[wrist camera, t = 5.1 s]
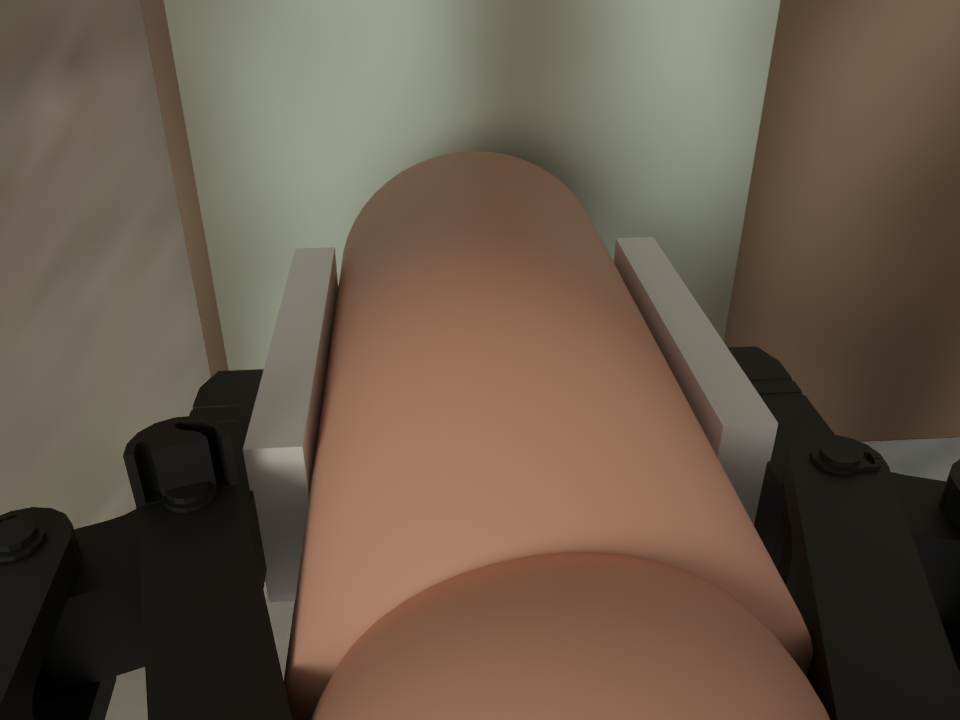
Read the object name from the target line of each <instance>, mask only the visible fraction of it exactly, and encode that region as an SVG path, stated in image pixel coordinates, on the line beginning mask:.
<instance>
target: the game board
mask: <svg viewBox="0 0 960 720" xmlns="http://www.w3.org/2000/svg"><path fill="white" fill-rule="evenodd" d="M140 2H141V7H142V13H143V18H144V23H145V29H146V34H147V39H148V44H149V50H150V55H151V60H152V66H153V71H154V76H155V82H156V87H157V92H158V97H159V103H160V108H161V113H162V119H163V124H164V129H165V135H166V140H167V145H168V150H169V156H170V161H171V166H172V172H173V177H174V182H175V188H176V193H177V198H178V203H179V209H180V214H181V219H182V225H183V230H184V235H185V241H186V246H187V251H188V256H189V262H190V267H191V272H192V278H193V283H194V288H195V294H196V299H197V304H198V309H199V315H200V320H201V325H202V331H203V336H204V341H205V347H206V352H207V357H208V362H209V368H210V373H211V377H212V376H214V375H215V374H216V373H217V372H218V371H231V370H254V369H264V366H265V362H266V359H267V355H268V351H269V347H270V343H271V340H272V336H273V332H274V328H275V324H276V320H277V317H278V313H279V309H280V305H281V301H282V297H283V294H284V290H285V286H286V282H287V278H288V275H289V271H290V267H291V263H292V259H293V255H294V252H295V249H297V248H328V247H335V257H336V267H337V278H338V286H339V279H340V272H341V264H342V257H343V251H344V248H345V244H346V240H347V237H348V234H349V232H350V230H351V228H352V225H353V223H354V221H355V219H356V218H357V216H358V215H359V213H360V211H361V210H362V208H363V207H364V205H365V204H366V203H367V202H368V201H369V199H370V198H371V197H372V196H373V195H374V193H375V192H377V191H378V190H379V189H380V188H381V187H382V186H383V185H384V184H385V183H386V182H388V181H389V180H390V179H392V178H393V177H395V176H396V175H398V174H399V173H400V172H402V171H404V170H406V169H408V168H410V167H411V166H413V165H415V164H417V163H420V162H422V161H425V160H428V159H431V158H433V157H437V156H441V155H446V154H450V153H456V152H467V151H482V152H494V153H500V154H506V155H510V156H513V157H516V158H520V159H523V160H526V161H528V162H530V163H532V164H534V165H536V166H539V167H541V168H542V169H544V170H546V171H547V172H549V173H550V174H552V175H553V176H555V177H556V178H557V179H558V180H560V181H561V182H562V183H563V184H564V185H565V186H567V187H568V188H569V189H570V191H571V192H572V193H573V194H574V195H575V196H576V197H577V199H578V200H579V201H580V203H581V204H582V206H583V207H584V209H585V210H586V212H587V213H588V215H589V217H590V219H591V221H592V223H593V225H594V226H595V228H596V230H597V232H598V234H599V236H600V238H601V240H602V241H603V243H604V245H605V247H606V249H607V251H608V253H609V255H610V257H611V258H612V260H613V262H614V254H615V243H616V238H637V237H654V239H655V240H656V242H657V243H658V245H659V246H660V248H661V249H662V251H663V252H664V254H665V255H666V257H667V258H668V260H669V261H670V263H671V264H672V266H673V267H674V269H675V270H676V272H677V273H678V275H679V276H680V278H681V279H682V281H683V282H684V284H685V285H686V287H687V288H688V290H689V291H690V293H691V294H692V295H693V297H694V298H695V300H696V301H697V303H698V304H699V306H700V307H701V309H702V310H703V312H704V313H705V315H706V316H707V318H708V319H709V321H710V322H711V324H712V325H713V327H714V328H715V330H716V331H717V333H718V334H719V336H720V337H721V339H722V340H723V342H724V343H725V345H726V346H727V347H751V346H757V347H758V348H760V349H761V350H763V351H764V352H766V353H768V354H769V355H771V356H772V357H774V358H776V359H777V360H779V361H780V363H781V364H782V365H783V367H784V368H785V369H786V371H787V372H788V373H789V375H790V376H791V377H792V381H795V382H796V384H797V385H798V386H799V388H800V389H801V390H802V395H805V396H806V397H807V398H808V400H809V401H810V402H811V404H812V405H813V406H814V408H815V409H816V410H817V412H818V413H819V414H820V416H821V417H822V418H823V419H824V421H825V422H826V423H827V425H828V426H829V427H830V429H831V430H832V431H833V433H834V434H835V435H839V436H843V437H848V438H852V439H854V440H856V441H859V442H860V441H883V440H907V439H930V438H954V437H960V0H140Z"/></svg>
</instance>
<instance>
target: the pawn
mask: <svg viewBox="0 0 960 720" xmlns="http://www.w3.org/2000/svg"><path fill="white" fill-rule="evenodd" d="M812 656H813V647H812V642H811V637H810V635H809V632H808V630H807V627H806V625H805V623H804V620H803V618H802V616H801V614H800V612H799V610H798V608H797V606H796V604H795V602H794V600H793V598H792V597H791V595H790V593H789V591H788V589H787V587H786V585H785V583H784V582H783V580H782V578H781V576H780V574H779V572H778V570H777V568H776V567H775V565H774V563H773V561H772V559H771V557H770V555H769V553H768V552H767V550H766V548H765V546H764V544H763V542H762V540H761V538H760V536H759V535H758V533H757V531H756V529H755V527H754V525H753V523H752V521H751V520H750V518H749V516H748V514H747V512H746V510H745V508H744V506H743V505H742V503H741V501H740V499H739V497H738V495H737V493H736V491H735V490H734V488H733V486H732V484H731V482H730V480H729V478H728V476H727V474H726V473H725V471H724V469H723V467H722V465H721V463H720V461H719V459H718V458H717V456H716V454H715V452H714V450H713V448H712V446H711V444H710V443H709V441H708V439H707V437H706V435H705V433H704V431H703V429H702V427H701V426H700V424H699V422H698V420H697V418H696V416H695V414H694V412H693V411H692V409H691V407H690V405H689V403H688V401H687V399H686V397H685V396H684V394H683V392H682V390H681V388H680V386H679V384H678V382H677V381H676V379H675V377H674V375H673V373H672V371H671V369H670V367H669V365H668V364H667V362H666V360H665V358H664V356H663V354H662V352H661V350H660V349H659V347H658V345H657V343H656V341H655V339H654V337H653V335H652V334H651V332H650V330H649V328H648V326H647V324H646V322H645V320H644V319H643V317H642V315H641V313H640V311H639V309H638V307H637V305H636V303H635V302H634V300H633V298H632V296H631V294H630V292H629V290H628V288H627V287H626V285H625V283H624V281H623V279H622V277H621V275H620V273H619V272H618V270H617V268H616V266H615V264H614V262H613V260H612V258H611V257H610V255H609V253H608V251H607V249H606V247H605V245H604V243H603V241H602V240H601V238H600V236H599V234H598V232H597V230H596V228H595V226H594V225H593V223H592V221H591V219H590V217H589V215H588V213H587V212H586V210H585V209H584V207H583V206H582V204H581V203H580V201H579V200H578V199H577V197H576V196H575V195H574V194H573V193H572V192H571V191H570V189H569V188H568V187H567V186H565V185H564V184H563V183H562V182H561V181H560V180H558V179H557V178H556V177H555V176H553V175H552V174H550V173H549V172H547V171H546V170H544V169H542V168H541V167H539V166H536V165H534V164H532V163H530V162H528V161H526V160H523V159H520V158H516V157H513V156H510V155H506V154H500V153H494V152H482V151H467V152H456V153H450V154H446V155H441V156H437V157H433V158H431V159H428V160H425V161H422V162H420V163H417V164H415V165H413V166H411V167H410V168H408V169H406V170H404V171H402V172H400V173H399V174H398V175H396V176H395V177H393V178H392V179H390V180H389V181H388V182H386V183H385V184H384V185H383V186H382V187H381V188H380V189H379V190H378V191H377V192H375V193H374V195H373V196H372V197H371V198H370V199H369V201H368V202H367V203H366V204H365V205H364V207H363V208H362V210H361V211H360V213H359V215H358V216H357V218H356V219H355V221H354V223H353V225H352V228H351V230H350V232H349V234H348V237H347V240H346V244H345V248H344V251H343V257H342V264H341V272H340V279H339V286H338V293H337V301H336V308H335V315H334V322H333V330H332V337H331V344H330V351H329V359H328V366H327V373H326V380H325V387H324V395H323V402H322V409H321V416H320V424H319V431H318V438H317V445H316V453H315V460H314V467H313V474H312V481H311V489H310V496H309V503H308V510H307V518H306V525H305V532H304V539H303V547H302V554H301V561H300V568H299V576H298V583H297V590H296V597H295V604H294V612H293V619H292V626H291V633H290V641H289V648H288V655H287V662H286V670H285V677H284V686H285V690H286V695H287V699H288V704H289V708H290V713H291V717H292V720H830V718H829V716H828V714H827V712H826V709H825V707H824V706H823V704H822V702H821V701H820V699H819V697H818V696H817V694H816V692H815V691H814V689H813V687H812V685H811V684H810V682H809V680H808V679H807V673H808V670H809V666H810V663H811V659H812Z"/></svg>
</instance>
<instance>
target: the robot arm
mask: <svg viewBox="0 0 960 720" xmlns="http://www.w3.org/2000/svg"><path fill="white" fill-rule="evenodd" d="M614 264H615V266H616V268H617V270H618V272H619V273H620V275H621V277H622V279H623V281H624V283H625V285H626V287H627V288H628V290H629V292H630V294H631V296H632V298H633V300H634V302H635V303H636V305H637V307H638V309H639V311H640V313H641V315H642V317H643V319H644V320H645V322H646V324H647V326H648V328H649V330H650V332H651V334H652V335H653V337H654V339H655V341H656V343H657V345H658V347H659V349H660V350H661V352H662V354H663V356H664V358H665V360H666V362H667V364H668V365H669V367H670V369H671V371H672V373H673V375H674V377H675V379H676V381H677V382H678V384H679V386H680V388H681V390H682V392H683V394H684V396H685V397H686V399H687V401H688V403H689V405H690V407H691V409H692V411H693V412H694V414H695V416H696V418H697V420H698V422H699V424H700V426H701V427H702V429H703V431H704V433H705V435H706V437H707V439H708V441H709V443H710V444H711V446H712V448H713V450H714V452H715V454H716V456H717V458H718V459H719V461H720V463H721V465H722V467H723V469H724V471H725V473H726V474H727V476H728V478H729V480H730V482H731V484H732V486H733V488H734V490H735V491H736V493H737V495H738V497H739V499H740V501H741V503H742V505H743V506H744V508H745V510H746V512H747V514H748V516H749V518H750V520H751V521H752V523H753V525H754V527H755V529H756V531H757V533H758V535H759V536H760V538H761V540H762V542H763V544H764V546H765V548H766V550H767V552H768V553H769V555H770V557H771V559H772V561H773V563H774V565H775V567H776V568H777V570H778V572H779V574H780V576H781V578H782V580H783V582H784V583H785V585H786V587H787V589H788V591H789V593H790V595H791V597H792V598H793V600H794V602H795V604H796V606H797V608H798V610H799V612H800V614H801V616H802V618H803V620H804V623H805V625H806V627H807V630H808V632H809V635H810V637H811V642H812V647H813V656H812V659H811V663H810V666H809V670H808V673H807V679H808V680H809V682H810V684H811V685H812V687H813V689H814V691H815V692H816V694H817V696H818V697H819V699H820V701H821V702H822V704H823V706H824V707H825V709H826V712H827V714H828V716H829V718H830V720H960V460H958V461H957V462H955V463H954V464H953V465H952V467H951V470H950V473H949V476H948V479H947V482H946V481H939V480H932V479H926V478H919V477H913V476H906V475H901V474H897V473H892V472H890V469H889V466H888V465H887V463H886V462H885V460H884V459H883V457H882V456H881V455H880V454H879V453H877V452H876V451H875V450H873V449H872V448H871V447H869V446H868V445H866V444H863V443H861V442H859V441H856V440H854V439H852V438H848V437H843V436H839V435H835V434H834V433H833V431H832V430H831V429H830V427H829V426H828V425H827V423H826V422H825V421H824V419H823V418H822V417H821V416H820V414H819V413H818V412H817V410H816V409H815V408H814V406H813V405H812V404H811V402H810V401H809V400H808V398H807V397H806V396H805V395H802V390H801V389H800V388H799V386H798V385H797V384H796V382H795V381H792V377H791V376H790V375H789V373H788V372H787V371H786V369H785V368H784V367H783V365H782V364H781V363H780V361H779V360H777V359H776V358H774V357H772V356H771V355H769V354H768V353H766V352H764V351H763V350H761V349H760V348H758V347H757V346H751V347H727V346H726V345H725V343H724V342H723V340H722V339H721V337H720V336H719V334H718V333H717V331H716V330H715V328H714V327H713V325H712V324H711V322H710V321H709V319H708V318H707V316H706V315H705V313H704V312H703V310H702V309H701V307H700V306H699V304H698V303H697V301H696V300H695V298H694V297H693V295H692V294H691V293H690V291H689V290H688V288H687V287H686V285H685V284H684V282H683V281H682V279H681V278H680V276H679V275H678V273H677V272H676V270H675V269H674V267H673V266H672V264H671V263H670V261H669V260H668V258H667V257H666V255H665V254H664V252H663V251H662V249H661V248H660V246H659V245H658V243H657V242H656V240H655V239H654V237H637V238H616V243H615V254H614ZM337 293H338V278H337V267H336V257H335V247H328V248H297V249H295V252H294V255H293V259H292V263H291V267H290V271H289V275H288V278H287V282H286V286H285V290H284V294H283V297H282V301H281V305H280V309H279V313H278V317H277V320H276V324H275V328H274V332H273V336H272V340H271V343H270V347H269V351H268V355H267V359H266V362H265V366H264V369H254V370H231V371H218V372H217V373H216V374H215V375H214V376H212V377H211V378H210V379H209V380H208V381H207V382H206V383H205V384H204V385H202V386H201V387H200V389H199V391H198V394H197V397H196V399H195V402H194V405H193V410H191V413H190V415H189V416H187V417H176V418H172V419H168V420H165V421H162V422H158V423H155V424H153V425H151V426H149V427H147V428H146V429H144V430H142V431H140V432H138V433H137V434H136V435H135V436H134V437H133V438H132V439H131V440H130V441H129V442H128V443H127V445H126V448H125V452H124V455H123V458H124V461H125V465H126V469H127V473H128V477H129V480H130V484H131V488H132V492H133V496H134V499H135V503H136V508H137V509H136V510H134V511H132V512H130V513H128V514H126V515H123V516H120V517H117V518H114V519H111V520H108V521H105V522H101V523H97V524H93V525H90V526H86V527H82V528H78V529H74V528H73V525H72V523H71V522H70V520H69V519H68V517H67V516H66V514H64V513H62V512H59V511H57V510H55V509H52V508H37V507H31V508H26V509H21V510H15V511H10V512H8V513H5V514H3V515H0V720H105V716H106V713H107V709H108V706H109V703H110V699H111V696H112V692H113V689H114V685H115V682H116V676H117V675H120V674H123V673H127V672H130V671H133V670H136V669H139V668H142V667H145V670H146V688H147V707H148V720H292V717H291V713H290V708H289V704H288V699H287V695H286V690H285V686H284V681H283V677H282V672H281V668H280V663H279V659H278V654H277V650H276V645H275V641H274V636H273V632H272V627H271V623H270V618H269V614H268V609H267V605H266V600H265V596H264V591H263V587H264V582H265V581H266V586H267V592H268V598H269V602H283V601H295V597H296V590H297V583H298V576H299V568H300V561H301V554H302V547H303V539H304V532H305V525H306V518H307V510H308V503H309V496H310V489H311V481H312V474H313V467H314V460H315V453H316V445H317V438H318V431H319V424H320V416H321V409H322V402H323V395H324V387H325V380H326V373H327V366H328V359H329V351H330V344H331V337H332V330H333V322H334V315H335V308H336V301H337Z"/></svg>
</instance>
